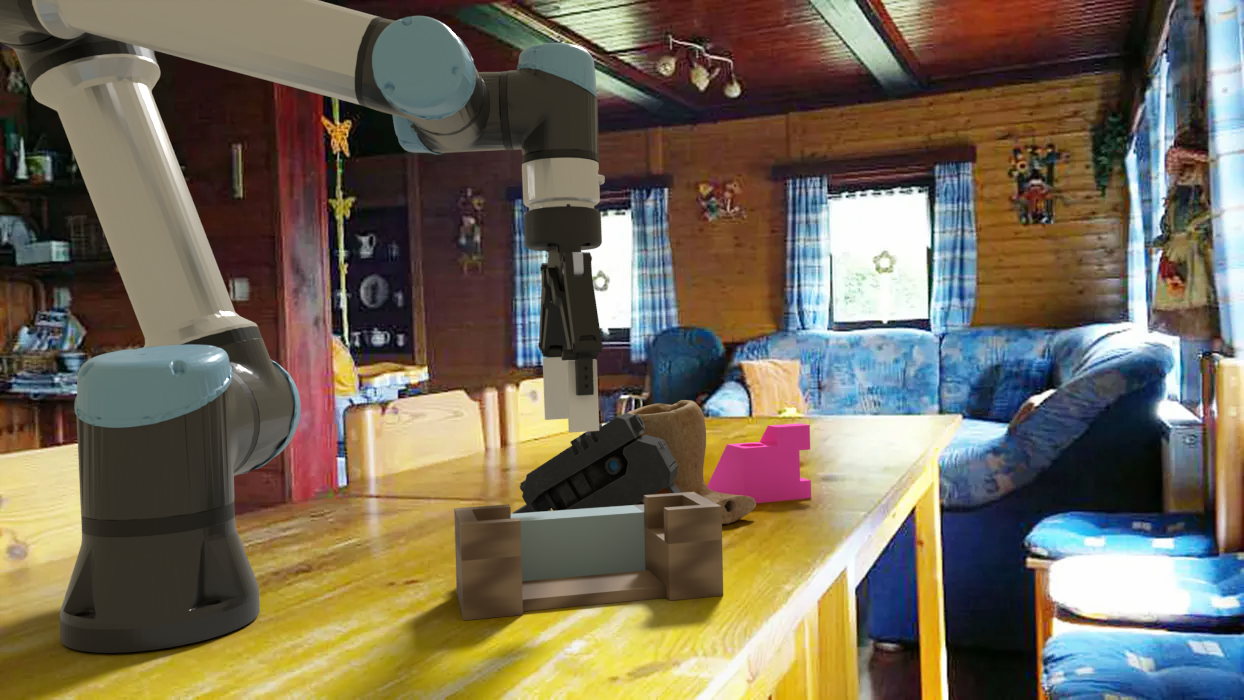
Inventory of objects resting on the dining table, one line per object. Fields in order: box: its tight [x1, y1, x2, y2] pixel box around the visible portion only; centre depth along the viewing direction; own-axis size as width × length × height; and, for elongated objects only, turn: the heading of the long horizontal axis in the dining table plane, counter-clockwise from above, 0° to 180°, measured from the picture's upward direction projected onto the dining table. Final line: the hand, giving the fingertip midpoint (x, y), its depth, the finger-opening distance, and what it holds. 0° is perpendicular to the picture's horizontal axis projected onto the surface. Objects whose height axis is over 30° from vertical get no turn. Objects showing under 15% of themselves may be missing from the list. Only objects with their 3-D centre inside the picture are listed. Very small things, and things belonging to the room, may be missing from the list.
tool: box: [511, 412, 681, 514], centre depth 107 cm, size 6×19×15 cm, turn 78°
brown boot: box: [627, 399, 757, 525], centre depth 118 cm, size 15×12×15 cm
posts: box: [453, 492, 724, 621], centre depth 85 cm, size 23×8×8 cm, turn 104°
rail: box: [511, 504, 646, 581], centre depth 93 cm, size 18×4×6 cm, turn 104°
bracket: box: [706, 422, 812, 504], centre depth 135 cm, size 12×10×10 cm
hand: (570, 425), depth 93 cm, fingers open, 13 cm apart
